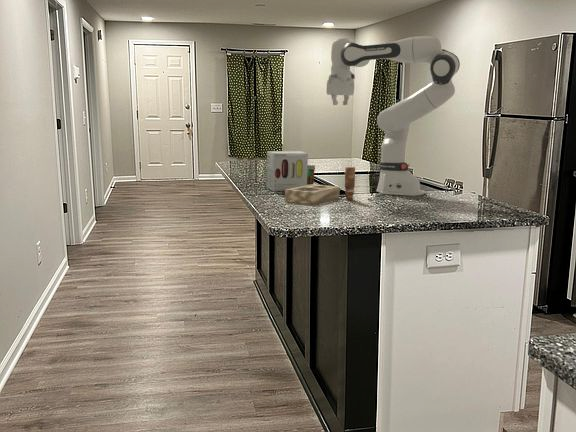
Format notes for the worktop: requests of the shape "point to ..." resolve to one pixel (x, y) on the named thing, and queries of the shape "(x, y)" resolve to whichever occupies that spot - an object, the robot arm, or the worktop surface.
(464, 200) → the worktop surface
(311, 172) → the food container
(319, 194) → the board
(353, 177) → the peg
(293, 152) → the supplement box
